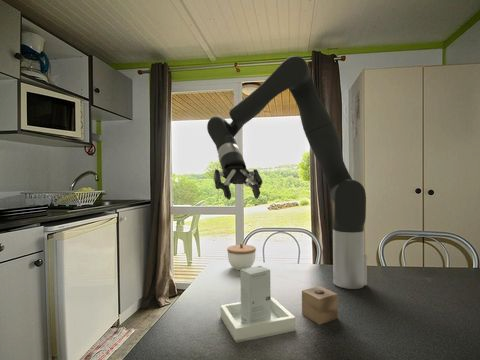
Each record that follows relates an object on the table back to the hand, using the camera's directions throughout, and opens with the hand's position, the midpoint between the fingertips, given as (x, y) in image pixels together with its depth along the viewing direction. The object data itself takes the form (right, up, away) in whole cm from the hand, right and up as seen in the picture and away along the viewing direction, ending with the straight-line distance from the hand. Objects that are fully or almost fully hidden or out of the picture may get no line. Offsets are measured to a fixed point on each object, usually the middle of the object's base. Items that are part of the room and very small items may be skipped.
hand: (243, 197), depth 85 cm
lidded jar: (0, -29, +27) cm, 39 cm away
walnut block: (+18, -29, -12) cm, 36 cm away
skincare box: (+3, -28, -15) cm, 32 cm away
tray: (+3, -29, -16) cm, 33 cm away
